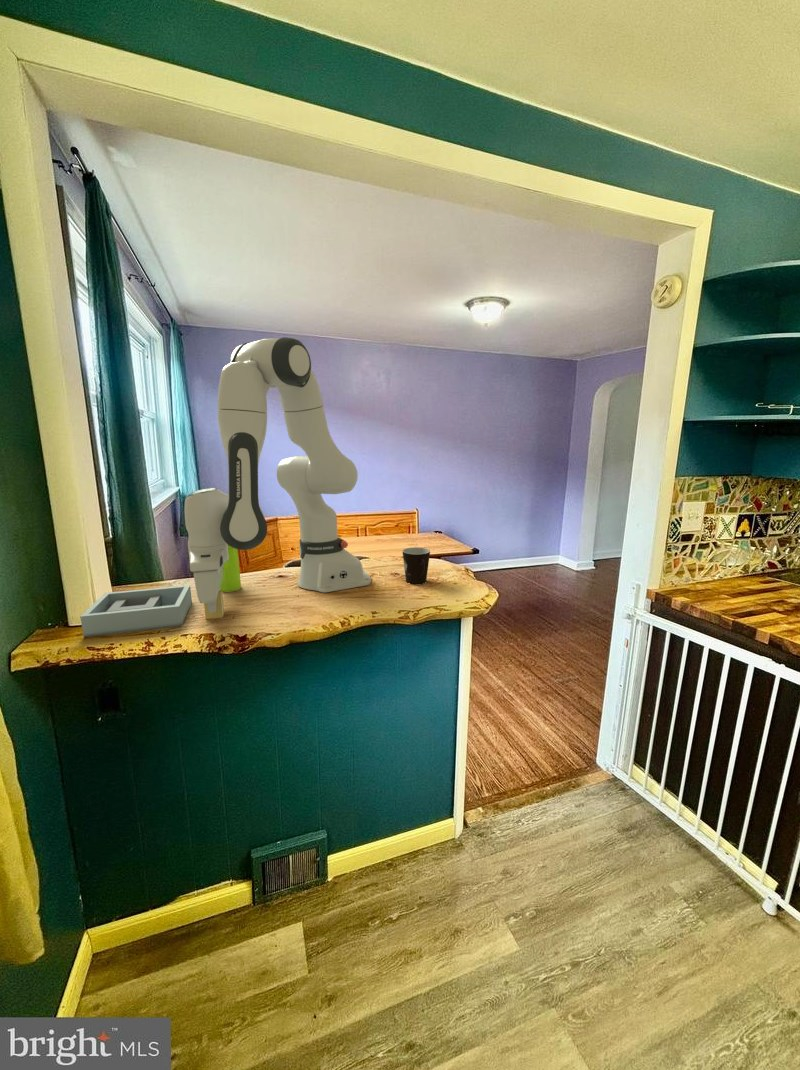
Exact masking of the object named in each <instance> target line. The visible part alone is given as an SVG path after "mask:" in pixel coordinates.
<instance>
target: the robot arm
mask: <svg viewBox="0 0 800 1070" xmlns="http://www.w3.org/2000/svg"><path fill="white" fill-rule="evenodd" d="M219 377H220V378H219V383H218V389H217V390H218V392H217V420H218V428H219V434H220V437H221V441H222V445H223V448H224V451H225V454H226V460H227V465H228V466H227V467H228V493H225V492H224V491H222V490H220V488H217V487H210V488H209V487H207V488H202V489H199V490H195V491H192V492H191V493H189V494H187V496H186V497H185V499H184V523H185V529H186V531H187V533H188V535H187V536H188V539H187V548H188V549H187V550H188V557H189V559H188V560H189V569H190V572H192V573H193V579H194V585H195V590H196V596H197V599H198V601H199V603H200V604H204V603H207V604H208V608H209V612H210V613H211V612H216V611H217V603H216V600H217V596H218V593H219V590H220V586H221V583H222V579H223V567H224V563H225V562H226V561H228V559H229V556H228V546H227V544H228V545H229V546H231V547H233V548H235V549H238V551H239V550H240V551H241V550H242V551H247V550H249V551H250V550H252V549H255V548H257V547H258V546H259V545H261V544H262V543H264V540H265V539H266V537H267V533H268V524H267V521H266V518H265V516H264V512H263V510H262V509H261V507H260V503H259V464H260V463H259V462H260V458H261V454H262V450H263V448H264V444H265V440H266V435H267V434H266V433H267V428H268V427H267V426H268V403H267V401H268V400H267V399H268V398H267V394H268V390H269V389H270V388H276V389H277V390H278V392H279V394H280V395H279V396H280V401H281V407H282V408H281V409H282V413H283V416H284V417H283V418H284V421H285V425H286V427H285V428H286V430H287V436H288V438H289V440H290V441H291V442H293V444H295V445H296V446H298V447H299V448H300V449H301V450H303V452H304V453H305V454H306V455H295V456H289V457H286V458H283V459H282V460H281V461H280V462H279V463H278V464H277V469H276V479H277V481H278V482H277V483H278V484H279V486H280V487H281V488H282V489H284V490H285V491H286V493H288V495H289V497H290V498H291V500H292V501H293V503H294V505H295V508H296V511H297V515H298V520H299V521H298V523H299V530H300V531H299V532H300V539H299V544H298V545H299V547H298V548H299V557H300V570H299V572H300V573H299V577H298V582H297V586H298V587H300V588H302V589H305V590H309V591H316V592H320V593H329V592H330V593H331V592H336V591H342V590H348V589H352V588H353V589H354V588H358V587H365V586H368V585H370V584H371V583H372V581H371V579H372V578H371V576H370V574H368V572H366V571H364V567H363V564H362V562H361V560H360V559H359V558H357V556H355V555H354V554H353V553H350V552H349V551H348V550H347V549H346V548H348V546H349V543H348V542H347V540H344V539H342V538H341V537H339V536H338V535H339V534H338V517H337V516H338V515H337V512H336V511H335V509H334V508H332V507H331V506H330V505H328V504H327V503H326V502H325V500H324V499H323V496H322V495H325V494H326V495H339V494H340V495H341V494H346V493H350V492H351V491H352V490H354V488H355V487H356V485H357V481H358V477H359V476H358V474H359V473H358V470H357V467H356V465H355V463H354V462H353V460H351V459H350V458H349V457H347V456H346V455H345V454H344V453H342V452H341V450H340V449H339V448H338V446H337V445H336V443H335V441H334V440H333V438H332V436H331V434H330V430H329V426H328V423H327V419H326V415H325V414H326V413H325V409H324V403H323V397H322V393H321V390H320V386H319V384H318V381H317V377H316V376H315V373H314V371H313V370H312V360H311V356H310V353H309V351H308V349H307V347H306V346H305V345H304V344H303V342H302V341H301V340H299V339H296V338H292V337H286V336H283V337H279V338H278V337H273V338H272V337H270V338H262V339H260V340H256V341H253V342H252V341H251V342H244V343H242V344H240V345H238V346H236V347H235V349H234V350H233V351H232V352H231V355H230V359H229V363H227V364H226V365H224V367H223V368H222V369H221V372H220V376H219Z"/></svg>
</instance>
